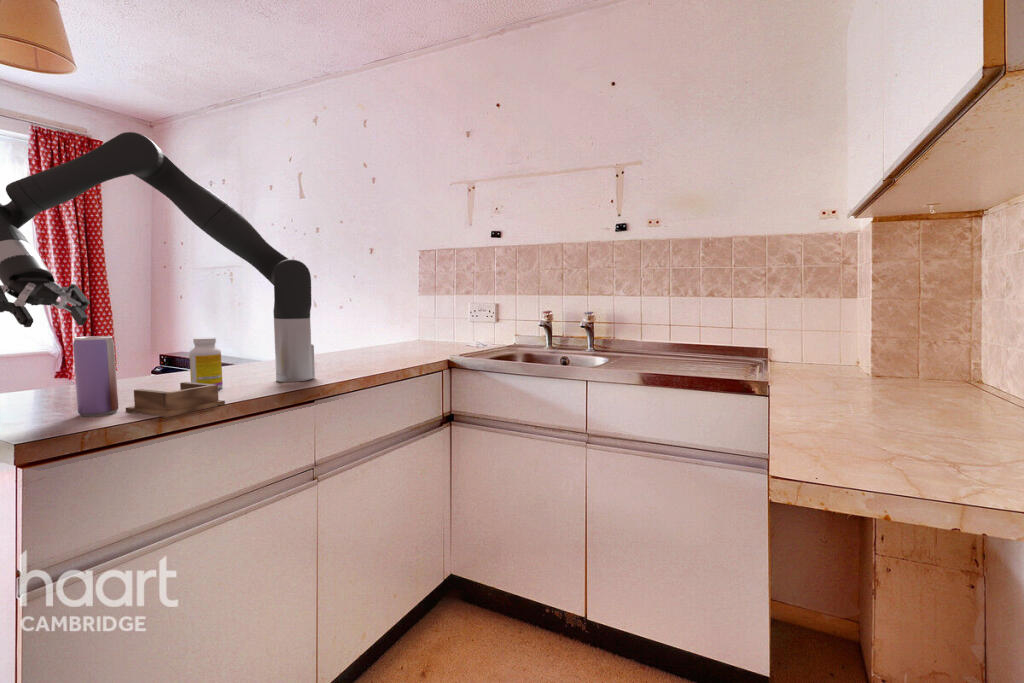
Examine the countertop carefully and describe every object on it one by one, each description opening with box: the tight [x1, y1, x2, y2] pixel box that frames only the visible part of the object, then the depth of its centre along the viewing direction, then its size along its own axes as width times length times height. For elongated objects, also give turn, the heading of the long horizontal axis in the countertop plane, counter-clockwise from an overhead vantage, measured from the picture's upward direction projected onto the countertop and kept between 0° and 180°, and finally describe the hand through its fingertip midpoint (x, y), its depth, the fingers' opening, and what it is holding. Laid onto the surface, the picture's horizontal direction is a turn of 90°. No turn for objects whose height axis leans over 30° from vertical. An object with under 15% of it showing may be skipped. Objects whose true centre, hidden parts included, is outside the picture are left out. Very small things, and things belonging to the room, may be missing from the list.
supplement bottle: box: [188, 337, 224, 390], centre depth 118 cm, size 7×7×13 cm
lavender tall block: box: [72, 335, 119, 418], centre depth 92 cm, size 6×6×15 cm
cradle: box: [125, 381, 226, 418], centre depth 98 cm, size 12×12×4 cm
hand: (57, 323), depth 95 cm, fingers open, 8 cm apart
